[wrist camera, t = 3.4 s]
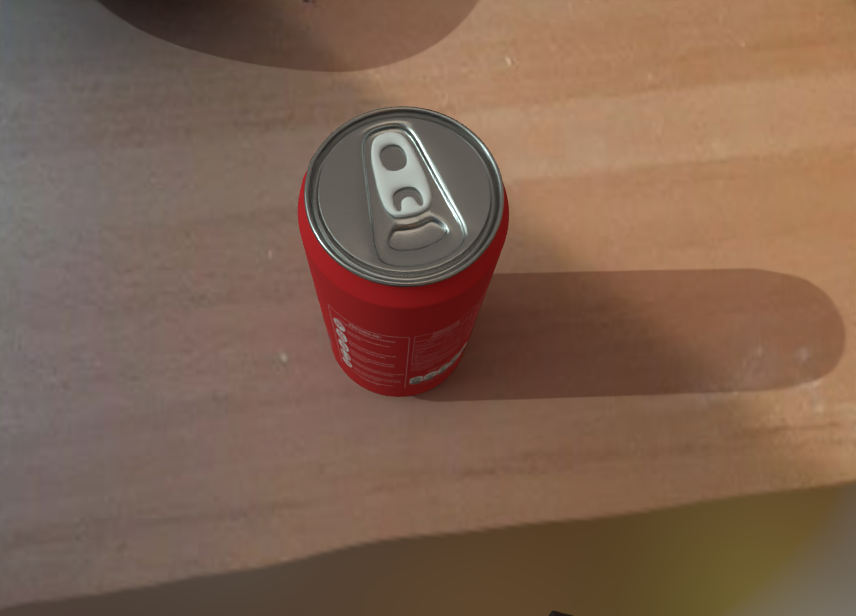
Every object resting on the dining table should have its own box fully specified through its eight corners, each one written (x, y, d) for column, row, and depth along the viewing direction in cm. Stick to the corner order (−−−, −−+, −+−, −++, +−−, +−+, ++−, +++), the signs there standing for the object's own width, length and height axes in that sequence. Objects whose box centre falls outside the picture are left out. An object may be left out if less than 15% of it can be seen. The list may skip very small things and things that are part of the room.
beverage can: (351, 419, 27) (325, 322, 16) (316, 294, 29) (270, 123, 17) (482, 381, 28) (545, 262, 17) (441, 261, 29) (475, 76, 18)
